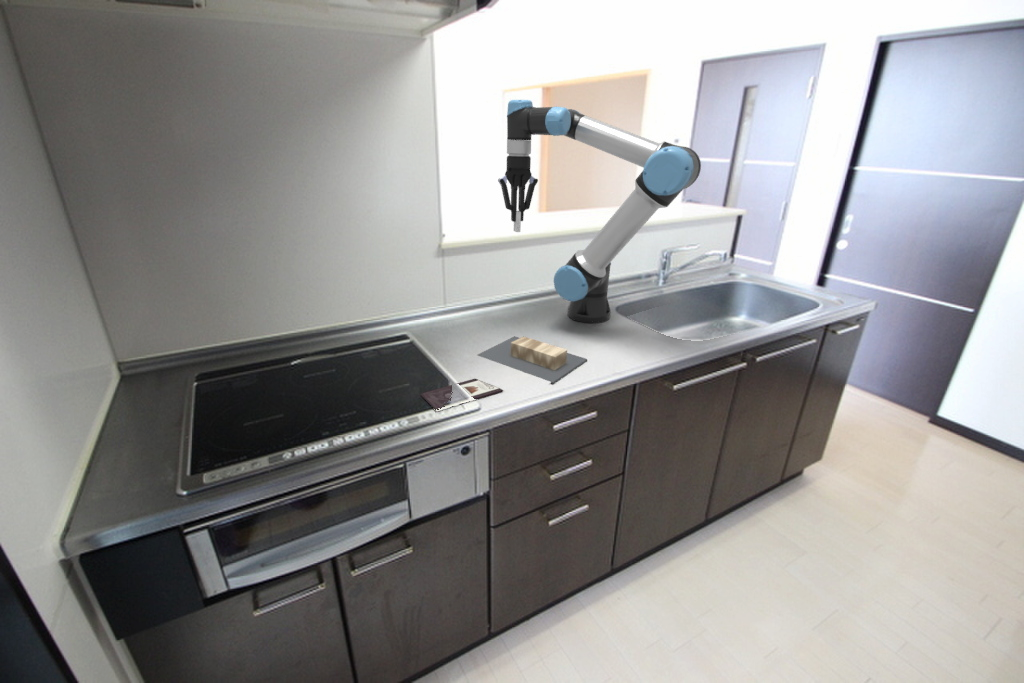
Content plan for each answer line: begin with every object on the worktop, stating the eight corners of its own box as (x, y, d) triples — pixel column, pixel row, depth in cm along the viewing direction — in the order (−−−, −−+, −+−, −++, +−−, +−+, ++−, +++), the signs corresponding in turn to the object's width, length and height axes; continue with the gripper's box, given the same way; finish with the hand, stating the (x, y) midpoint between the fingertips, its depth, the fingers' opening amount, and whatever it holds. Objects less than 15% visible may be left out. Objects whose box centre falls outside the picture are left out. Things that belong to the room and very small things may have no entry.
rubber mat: (476, 356, 137) (476, 354, 137) (514, 337, 150) (514, 336, 150) (552, 384, 123) (553, 382, 123) (587, 360, 136) (587, 359, 136)
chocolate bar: (420, 393, 116) (484, 375, 125) (420, 396, 117) (484, 379, 126) (436, 410, 109) (502, 390, 119) (436, 413, 110) (502, 393, 119)
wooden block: (510, 342, 135) (555, 357, 127) (523, 336, 140) (567, 349, 132) (510, 355, 137) (554, 370, 129) (523, 348, 141) (566, 362, 133)
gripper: (534, 154, 154) (531, 228, 163) (495, 154, 150) (495, 230, 160) (542, 155, 147) (539, 232, 157) (502, 155, 144) (501, 234, 153)
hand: (516, 231), depth 158 cm, fingers closed
